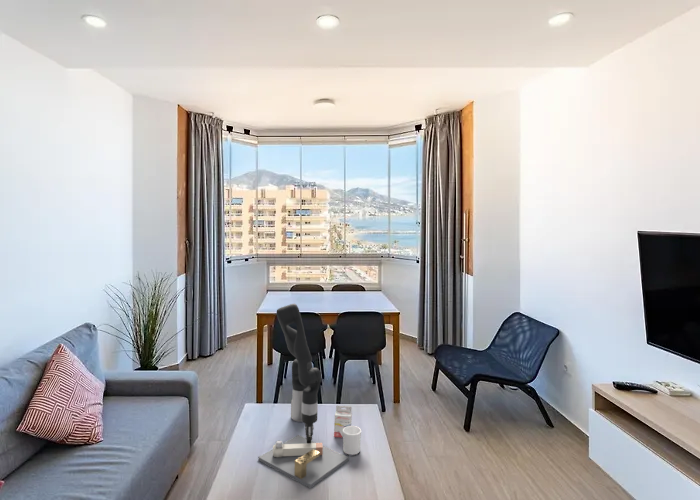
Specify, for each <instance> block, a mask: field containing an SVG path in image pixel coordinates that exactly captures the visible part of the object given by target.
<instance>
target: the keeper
mask: <svg viewBox="0 0 700 500" xmlns="http://www.w3.org/2000/svg"><path fill="white" fill-rule="evenodd" d="M318 456H320V452H318V451H316V450H314V449H312V450H311V451H309V452H308V453H306V454H304V455H303V456H301V457H300V458H298V459H296V460H295V476H297V477H299V478H301V479H302V478H304V477H305V476H306V464H308V463H309V462H311V461H312V460H314V459H315V458H317V457H318Z"/></svg>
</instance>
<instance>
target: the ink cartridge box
mask: <svg viewBox="0 0 700 500" xmlns="http://www.w3.org/2000/svg"><path fill="white" fill-rule="evenodd" d="M352 409H353V408H352V406H345V405H336V408H335V410H336V411H335V414H334V423H333V425H334V429H333V431H334V432H333V437H334V438H341V439H343V438H342V437H343V429H344V428H345V427H347V426H352V415H353V413H352Z"/></svg>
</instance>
